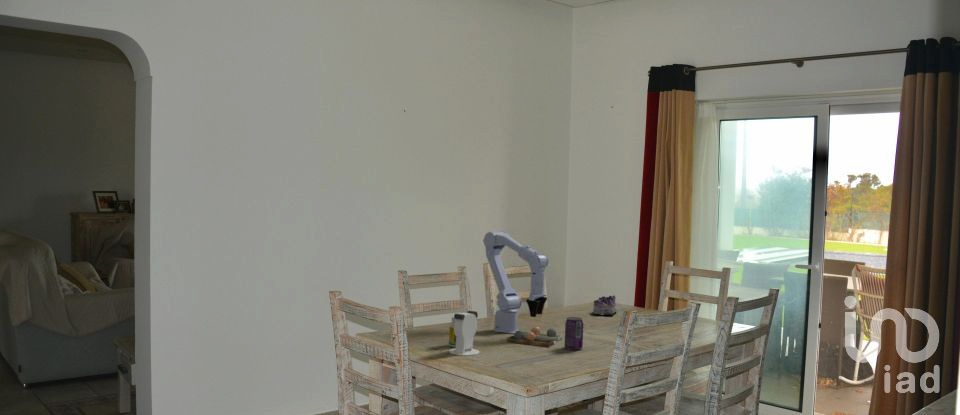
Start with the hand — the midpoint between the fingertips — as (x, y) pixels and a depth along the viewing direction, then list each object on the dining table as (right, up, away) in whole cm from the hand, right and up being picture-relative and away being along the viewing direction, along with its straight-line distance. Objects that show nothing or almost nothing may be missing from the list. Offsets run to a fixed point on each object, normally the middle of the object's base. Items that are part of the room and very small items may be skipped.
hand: (536, 315), depth 319 cm
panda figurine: (-29, -10, -32) cm, 44 cm away
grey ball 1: (-8, -7, -10) cm, 14 cm away
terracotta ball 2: (0, -7, 0) cm, 7 cm away
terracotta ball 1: (-3, -7, -12) cm, 14 cm away
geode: (+40, -9, +67) cm, 79 cm away
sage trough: (0, -9, -3) cm, 10 cm away
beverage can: (+13, -11, -19) cm, 25 cm away
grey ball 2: (+6, -7, -3) cm, 10 cm away
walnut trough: (-3, -10, -12) cm, 15 cm away
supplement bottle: (-33, -9, -22) cm, 40 cm away
